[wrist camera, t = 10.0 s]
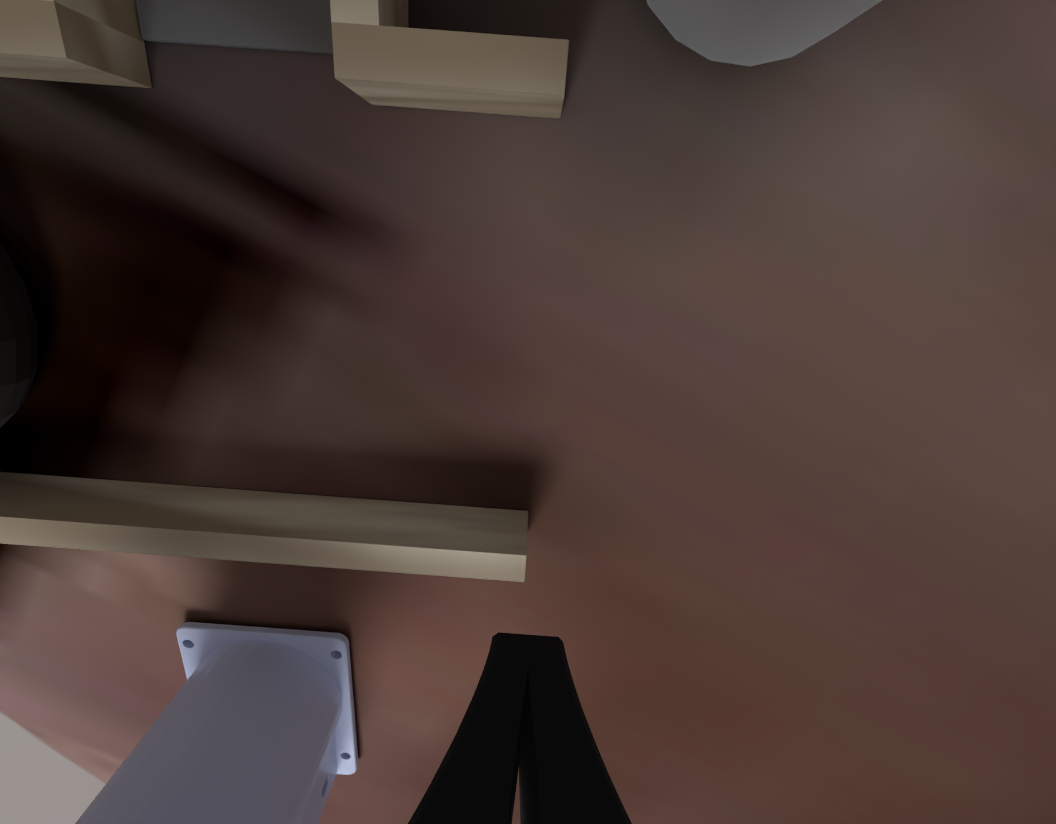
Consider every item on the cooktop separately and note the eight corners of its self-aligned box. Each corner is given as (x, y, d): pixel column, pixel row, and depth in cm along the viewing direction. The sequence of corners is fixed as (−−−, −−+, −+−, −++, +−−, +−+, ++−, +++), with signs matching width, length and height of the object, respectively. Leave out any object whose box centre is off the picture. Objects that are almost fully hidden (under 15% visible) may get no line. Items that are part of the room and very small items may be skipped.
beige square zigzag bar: (526, 534, 21) (524, 582, 18) (-195, 481, 21) (-308, 520, 18) (580, -128, 13) (590, -221, 11) (-554, -213, 13) (-843, -329, 11)
